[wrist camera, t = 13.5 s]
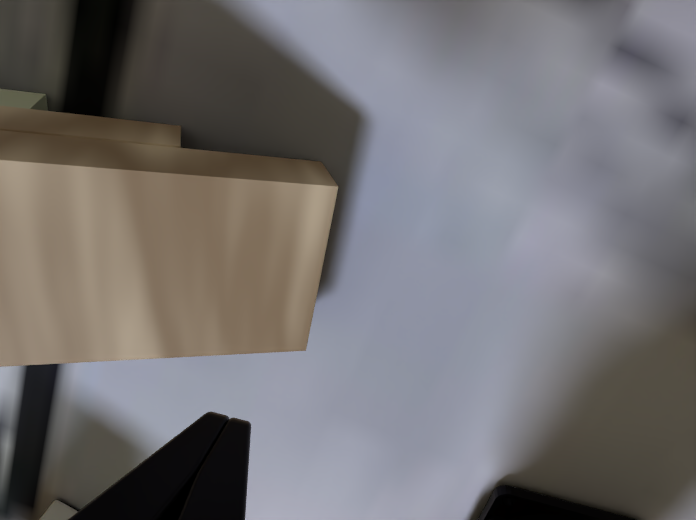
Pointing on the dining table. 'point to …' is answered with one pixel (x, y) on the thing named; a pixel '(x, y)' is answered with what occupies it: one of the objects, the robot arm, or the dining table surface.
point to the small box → (58, 511)
